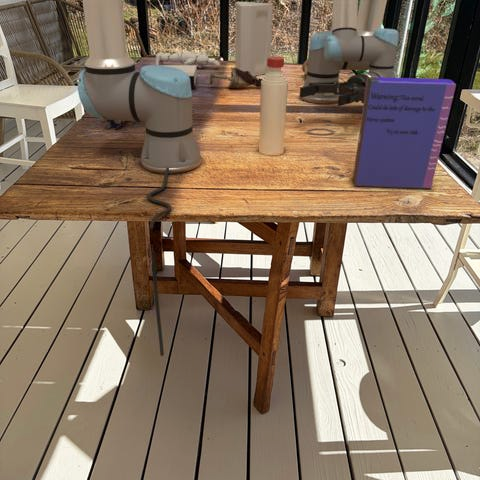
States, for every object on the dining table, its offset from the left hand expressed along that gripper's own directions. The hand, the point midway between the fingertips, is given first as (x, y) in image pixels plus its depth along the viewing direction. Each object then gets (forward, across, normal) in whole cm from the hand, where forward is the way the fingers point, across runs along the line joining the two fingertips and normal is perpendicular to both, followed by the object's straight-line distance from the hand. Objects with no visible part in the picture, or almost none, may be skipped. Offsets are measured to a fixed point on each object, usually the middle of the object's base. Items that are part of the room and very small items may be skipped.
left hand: (173, 3), depth 150 cm
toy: (+33, +16, -66) cm, 75 cm away
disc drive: (+33, +13, -35) cm, 50 cm away
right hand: (+21, -49, +22) cm, 57 cm away
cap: (+9, -37, +35) cm, 52 cm away
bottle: (+33, -37, +35) cm, 61 cm away
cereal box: (+33, -68, +50) cm, 91 cm away
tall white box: (+33, -16, -63) cm, 73 cm away
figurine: (+33, -18, -34) cm, 50 cm away
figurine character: (+33, +13, +22) cm, 42 cm away
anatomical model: (+33, -42, -58) cm, 79 cm away
